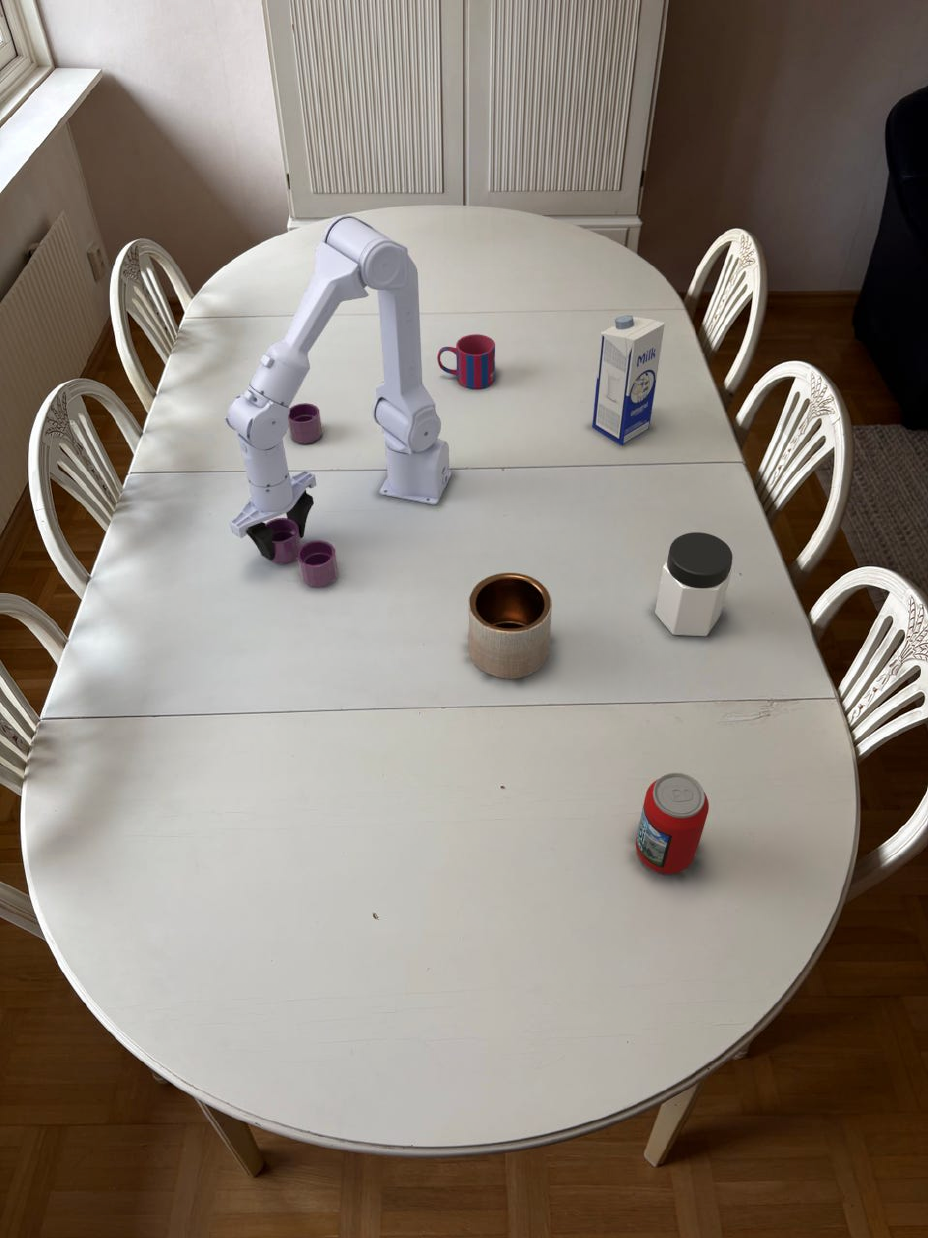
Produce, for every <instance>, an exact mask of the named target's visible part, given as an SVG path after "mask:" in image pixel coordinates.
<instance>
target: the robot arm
mask: <svg viewBox="0 0 928 1238" xmlns="http://www.w3.org/2000/svg"><path fill="white" fill-rule="evenodd" d="M408 253H409V250H408V247H407V246H406V245H404V244H402V243H400V242H397V241H396V240H394V239H392V238H391V237H389V236H387V235H386V234H384V233H382V232H381V231H379V230H377V229H376V228H375V227H374V226H372V225H371V224H369V223H367V222H366V221H364V220H362V219H359V218H357V217H356V216H353V215H350V214H343V215H340V216H337V217H336V218H334V219H333V220H332V221H330V222H329V224H328V225H327V227H326V228H325V230H324V233H323V236H322V240H321V241H320V242H319V243H318V245H317V246H316V248H315V252H314V269H313V274H312V276H311V278H310V280H309V283H308V284H307V287H306V289H305V292H304V294H303V296H302V298H301V300H300V302H299V305H298V308H297V309H296V311H295V314H294V316H293V319H292V320H291V323H290V326H289V327H288V330H287V332H286V334H285V336H284V338H283V339H282V340H280V341H278V342H274V343H271V344H270V345H269V346H268V349H267V350H266V352H265V353H263V355H262V357H260V361H259V365H258V367H257V369H256V371H255V373H254V375H253V377H252V379H251V381H250V382H249V384H248V386H247V388H246V389H245V392H242V393H240V394H238V395H236V396H235V397H234V398H233V399H232V401H231V402H230V404H229V406H228V411H227V415H226V416H225V417H224V420H225V423H226V424H227V426H228V427H229V428H231V429H232V430H233V431H234V432H236V433H237V440H238V444H239V447H240V453H241V457H242V463H243V466H244V470H245V475H246V479H247V483H248V487H249V493H250V496H251V497H250V498H249V500H248V501H247V502H246V504H244V506H243V507H242V509H241V510H240V511H239V513H238V514H237V515H236V517H235V518H233V519H232V520H231V521H230V522H229V526H230V531H231V533H232V534H234V535H235V536H237V537H238V538H239V539H243V538H244V537H245V536H248V537H249V538H250V539H251V540H252V542H253V543H254V544H255V546H256V548H257V549H258V551H259V553H260V556H262V557H264V558H265V559H266V560H268V561H270V562H273V561H272V560H273V559H274V550H273V545H272V537H273V533H274V531H273V530H272V529H270V528H268V527H267V526H266V521H270V520H273V519H275V518H278V517H280V516H282V515H284V514H285V515H286V518H288V519H291V520H293V521H295V522H296V523H297V525H298V527H299V532H300V537H301V539H303V538H304V537H305V531H306V524H307V520H308V516H309V514H310V511H311V509H312V507H313V506H314V504H315V502H314V497H313V495H311V494H309V493H307V489H308V488H309V489H313V488H315V487H316V486H317V481H316V480H317V479H316V475H315V473H312V472H310V471H309V470H307V469H305V470H302V471H301V472H299V473H298V474H295V475H292V476H291V475H290V470H289V466H288V461H287V460H288V459H287V456H286V449H285V444H284V441H283V439H284V437H285V436H286V435H287V434H288V432H289V428H288V426H289V422H288V416H289V414H290V412H289V411H290V409H289V408H290V406H291V404H292V402H293V401H294V399H295V397H296V395H297V393H298V392H299V390H300V388H301V386H302V385H303V383H304V381H305V379H306V377H307V375H308V374H309V371H310V369H311V365H310V360H309V353H310V351H311V349H312V348H313V346H314V345H315V343H316V341H317V340H318V338H319V337H320V336H321V334H322V333H323V331H324V329H325V328H326V326H327V325H328V323H329V322H330V320H331V319H332V317H333V315H334V314H335V312H336V311H337V309H338V308H339V306H340V305H341V303H342V302H346V301H352V300H358V299H364V298H367V297H369V293H368V292H367V290H366V289H365V288H366V287H368V288H370V289H372V290H375V291H377V302H378V314H379V317H378V318H379V329H380V343H381V355H382V357H381V358H382V369H383V381H381V383H379V384H378V385H376V387H375V400H374V403H373V405H372V411H371V414H372V418H373V420H374V422H375V423H376V424H377V425H378V426H381V434H382V435H383V440H384V441H383V442H384V452H385V462H386V471H387V477H386V478H385V480H384V482H383V484H382V485H381V487H380V489H379V494H380V495H381V496H382V495H383V496H388V497H393V498H397V499H402V500H408V501H415V502H418V503H424V504H429V505H434V506H435V505H437V504H438V503H439V501H440V499H441V497H442V495H443V492H445V488H446V486H447V484H448V482H449V480H450V478H451V476H452V472H451V471H450V470H451V468H450V447H449V443H448V441H445V440H443V439H440V438H439V435H440V433H441V430H442V421H441V418H440V417H439V415H438V413H437V411H436V410H437V409H436V402H435V401H434V399H433V396H431V394H430V393H429V391H428V389H427V388H426V386H425V384H424V383H423V366H422V365H423V364H422V341H421V340H422V339H421V318H420V298H419V297H420V293H419V273H418V267H417V265H416V264H415V263H414V262H413V260H412V258H411V257H410V255H409V254H408Z"/></svg>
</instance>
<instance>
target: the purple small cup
mask: <svg viewBox="0 0 928 1238" xmlns="http://www.w3.org/2000/svg"><path fill="white" fill-rule="evenodd" d="M336 551H337V550H336V548H335V547H334V545H333V544H332V543H330V542H328V541H326V540H320V539H319V540H312V541H311V540H310V541H308V542H305V543H304V544H302V547H300V549H299V551H298V552H297V559H296V560H297V564H298V568H299V573H300V578H301V580H302V582H304V583H305V584H306V585H308V586H310V587H312V588H324V587H328V586H330V585H331V584H333V582H334V581H336V579H337V578H338V576H339V573H340V572H339V571H340V570H339V564H338V557H337V552H336Z"/></svg>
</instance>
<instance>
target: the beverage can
mask: <svg viewBox="0 0 928 1238" xmlns="http://www.w3.org/2000/svg"><path fill="white" fill-rule="evenodd" d="M709 809H710V803H709V800H708V797H707V794H706V792H705V791H704V788H703V787H702V785H701V784H700V782H699V781H698V780H697V779H695V778H694V777H692V776H691V775H688V774H686V773H684V772H683V773H682V772H670V773H669V772H668V773H666V774H664V775H662V776H661V777H660V778H658V779H656V780H654V781H653V782H652V783H651V784H650V785H649V787H648V788H647V789H646V792H645V796H644V800H643V804H642V808H641V814H640V817H639V823H638V828H637V834H636V839H635V849H636V853H637V856H638V858H639V859H640V861H641V862H642V863H643V864H644V865H645V866H646V867H647V868H649V869H651V870H652V871H654V872H656V873H660V874H664V875H672V874H679V873H681V872H683V871H685V870H686V869H687V868H689V866H690V865H691V864H692V863H693V861H694V859H695V857H696V853H697V850H698V848H699V845H700V841H701V837H702V834H703V831H704V828H705V825H706V821H707V817H708V814H709Z"/></svg>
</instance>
